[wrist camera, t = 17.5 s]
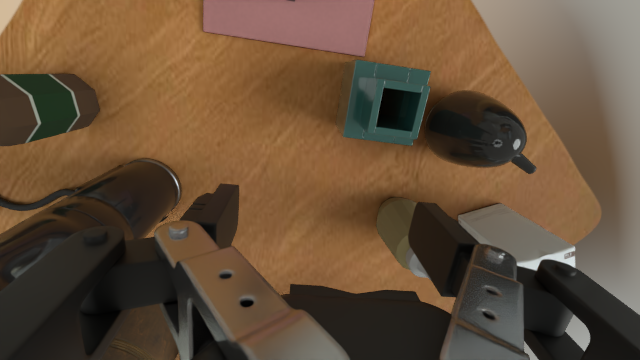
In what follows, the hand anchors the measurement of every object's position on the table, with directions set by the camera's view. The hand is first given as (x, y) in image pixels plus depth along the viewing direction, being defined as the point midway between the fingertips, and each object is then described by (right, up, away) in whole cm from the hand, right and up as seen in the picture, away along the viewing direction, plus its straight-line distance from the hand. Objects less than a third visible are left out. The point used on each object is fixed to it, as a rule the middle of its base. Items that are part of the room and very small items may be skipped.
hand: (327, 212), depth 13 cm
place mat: (-4, +26, +25) cm, 37 cm away
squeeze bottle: (+13, -4, +38) cm, 40 cm away
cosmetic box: (+28, -6, +39) cm, 49 cm away
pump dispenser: (+20, +10, +33) cm, 40 cm away
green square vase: (+7, +14, +31) cm, 34 cm away
